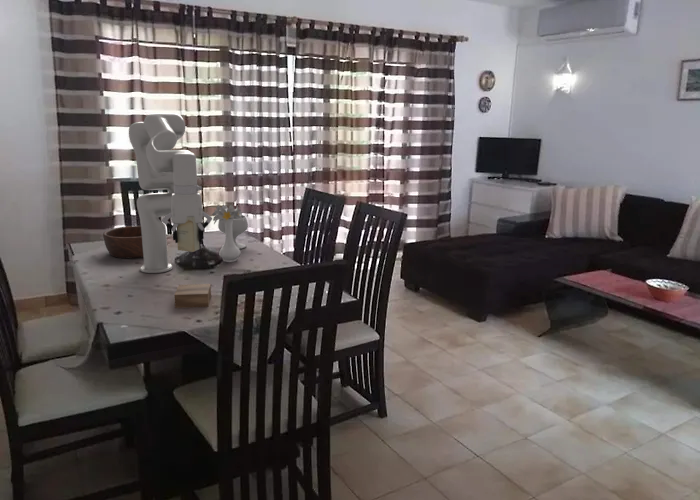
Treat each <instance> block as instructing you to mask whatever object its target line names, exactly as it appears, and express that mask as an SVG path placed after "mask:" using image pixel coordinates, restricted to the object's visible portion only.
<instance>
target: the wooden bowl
mask: <svg viewBox="0 0 700 500" xmlns="http://www.w3.org/2000/svg"><path fill="white" fill-rule="evenodd" d="M102 237H103V241H104V245H105V248H106V250H107V251H108V253H109V254H110V255H111V256H113V257H114V258H119V259H139V258H143V245H142V233H141V225H128V226H121V227H113V228H110V229H107V230H105V231H104V232H103V234H102Z"/></svg>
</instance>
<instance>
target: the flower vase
mask: <svg viewBox="0 0 700 500" xmlns="http://www.w3.org/2000/svg"><path fill="white" fill-rule="evenodd" d="M242 213H243V212H242V210H241V209H239V206H238V205H236V208H235V207H234V205H232V204H230V205H229V207H228V206H227V205H226V204H222V206H220V205H219V204H218V205H217V206H216V208H215V209H214V212H213V213H212V214H211V215H212V216H214V217H213V218H212V222H213V225H215V224H216V223H217V222H218V221H219V220H220V221H223V220H224V223H225V229H226V234H225V239H224V244H223V245H224V246H223V247H222V248H221V247H220V249H219V252H218V255H219V257H220V259H222V261H223V262H224V263H234V262H237V261H238V258H239V257H240V256H241V253H242V252H241V249H239V248H238V247H237V246H236V245H235V243H234V240H233V231H232V225H233V220H234V217H237V218H240V219H241V220H243V218H242V217H241V215H243V214H242ZM243 221H244V220H243Z"/></svg>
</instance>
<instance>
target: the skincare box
mask: <svg viewBox="0 0 700 500" xmlns="http://www.w3.org/2000/svg"><path fill="white" fill-rule="evenodd" d="M176 230H177V240H178V243H177V251H182V252H190V253H191V252H192V253H194V252H196V251H198V250H200V241H199V226H198V225H197V224H196V223H195V217H187V219H186V223H185V224H178V226H177V228H176Z"/></svg>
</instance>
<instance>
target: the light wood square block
mask: <svg viewBox="0 0 700 500" xmlns="http://www.w3.org/2000/svg"><path fill="white" fill-rule="evenodd" d="M211 285H212V284H211V283H194V284H193V283H192V284H191V283H190V284H189V283H188V284H185V283H184V284H178V286H177V287H176V290H175V292H174V308H175V309H183V308H184V309H185V308H187V309H189V308H208V307H209V306H210V302H211V300H212V299H211V298H212V290H211V289H212V287H211Z"/></svg>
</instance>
